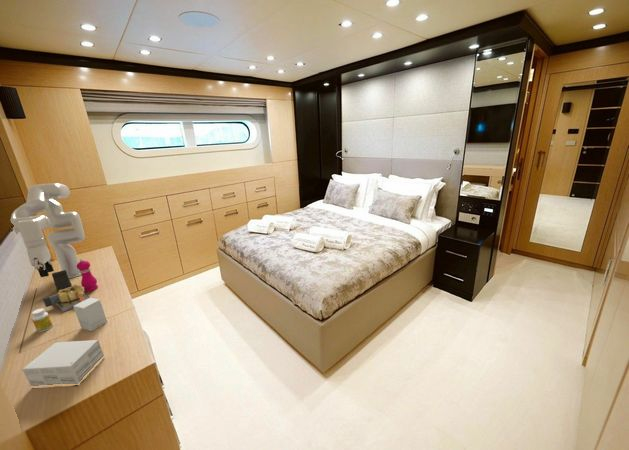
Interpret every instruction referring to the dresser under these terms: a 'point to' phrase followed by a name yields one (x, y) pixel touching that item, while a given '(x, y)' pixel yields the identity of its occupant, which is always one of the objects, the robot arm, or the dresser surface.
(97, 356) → the supplement box
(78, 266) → the pepper mill
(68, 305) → the flange base
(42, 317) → the supplement bottle
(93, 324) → the supplement box
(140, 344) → the dresser surface
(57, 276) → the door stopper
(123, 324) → the dresser surface
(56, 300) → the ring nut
